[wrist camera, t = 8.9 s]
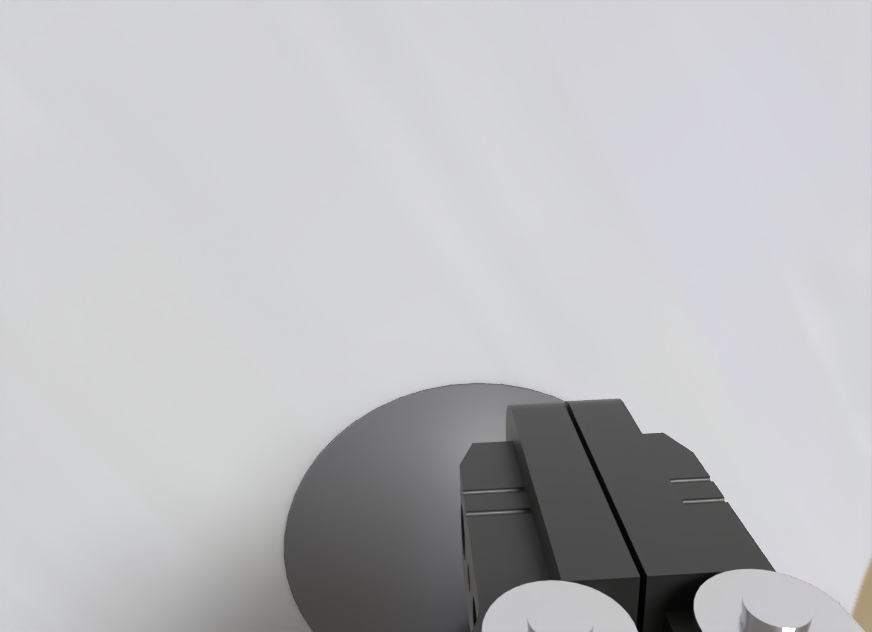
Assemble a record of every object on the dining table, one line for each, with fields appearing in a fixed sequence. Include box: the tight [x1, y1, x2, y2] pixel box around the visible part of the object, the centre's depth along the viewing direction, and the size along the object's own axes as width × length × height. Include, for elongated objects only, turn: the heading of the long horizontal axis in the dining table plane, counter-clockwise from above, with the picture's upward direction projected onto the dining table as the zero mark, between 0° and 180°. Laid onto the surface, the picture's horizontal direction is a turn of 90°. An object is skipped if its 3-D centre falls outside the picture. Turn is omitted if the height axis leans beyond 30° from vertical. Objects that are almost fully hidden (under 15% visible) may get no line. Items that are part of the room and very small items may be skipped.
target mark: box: [284, 383, 565, 632], centre depth 29 cm, size 14×14×1 cm
